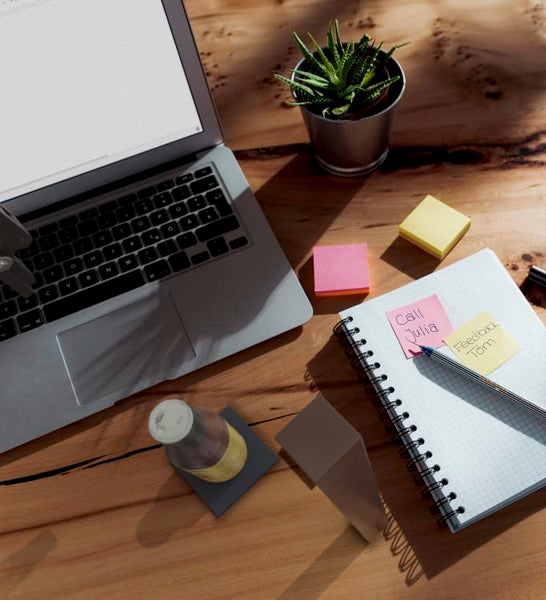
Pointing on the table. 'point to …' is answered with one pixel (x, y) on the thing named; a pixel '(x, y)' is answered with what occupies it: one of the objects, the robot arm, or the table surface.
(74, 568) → the table surface
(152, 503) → the table surface
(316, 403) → the walnut post
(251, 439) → the mat
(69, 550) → the table surface
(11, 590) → the table surface
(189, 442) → the sauce bottle
